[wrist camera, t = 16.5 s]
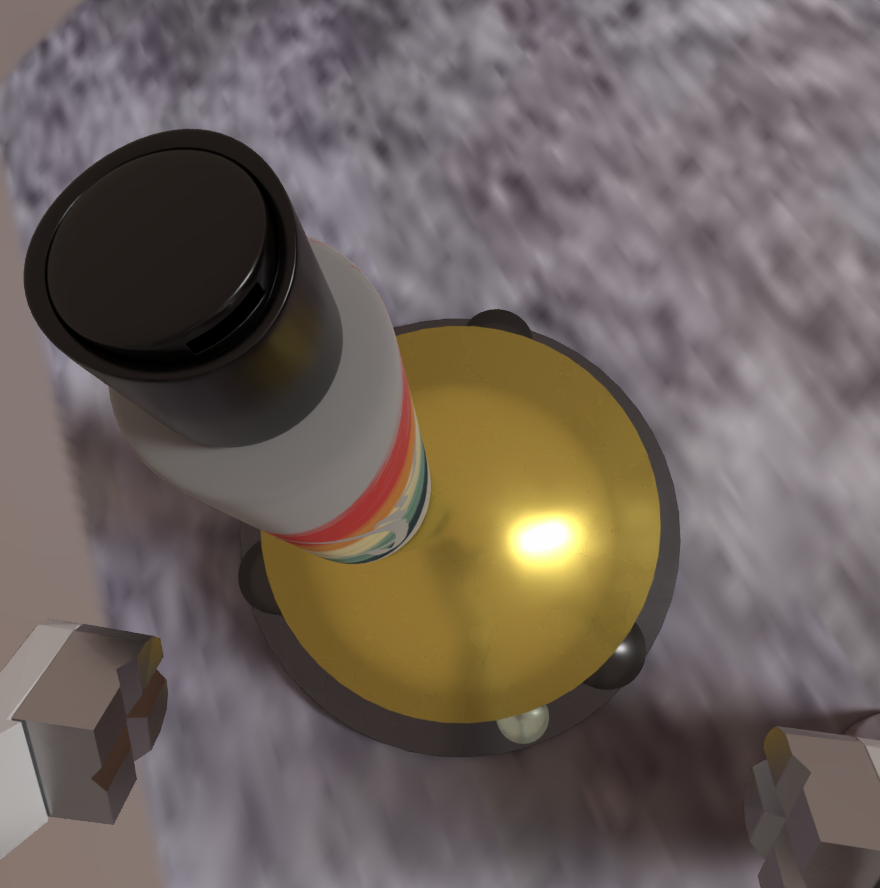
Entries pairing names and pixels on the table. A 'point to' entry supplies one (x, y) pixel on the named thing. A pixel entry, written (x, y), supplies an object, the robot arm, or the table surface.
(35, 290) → the lotion bottle
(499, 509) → the levelling base
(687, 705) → the table surface
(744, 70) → the table surface
